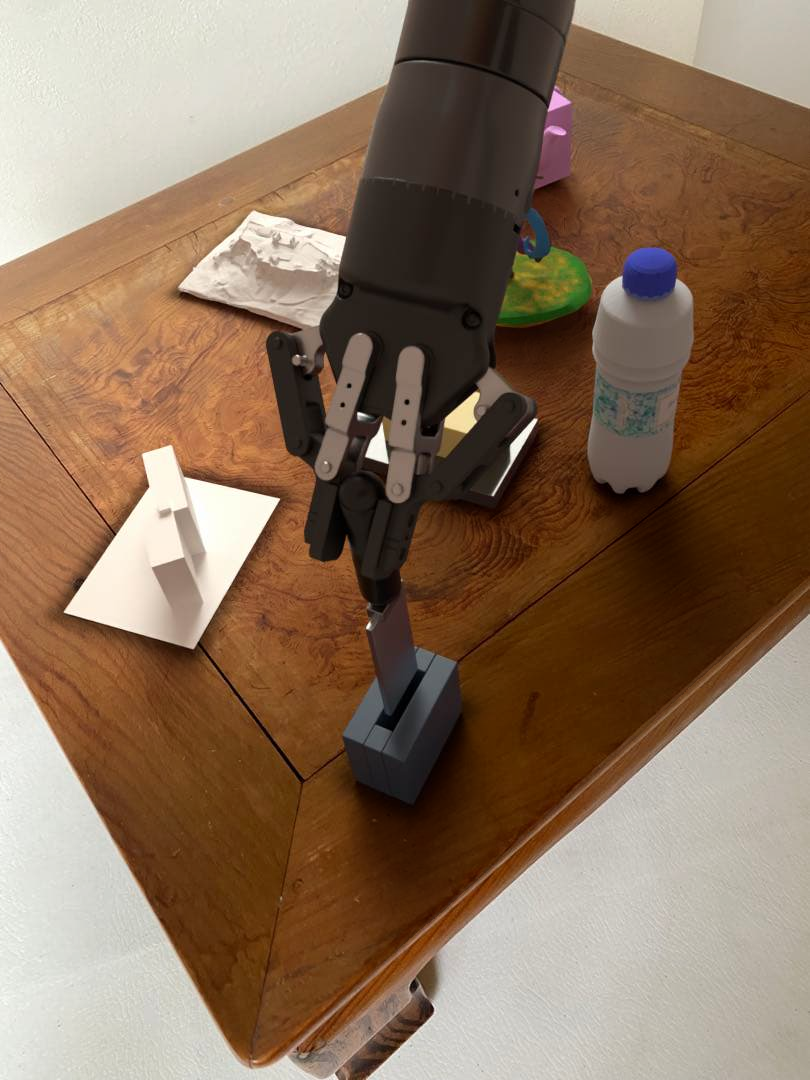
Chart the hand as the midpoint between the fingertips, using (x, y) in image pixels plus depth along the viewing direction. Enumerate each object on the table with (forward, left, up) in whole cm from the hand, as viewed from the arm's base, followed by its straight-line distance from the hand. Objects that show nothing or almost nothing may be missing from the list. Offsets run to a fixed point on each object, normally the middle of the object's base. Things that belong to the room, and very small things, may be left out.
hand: (350, 566), depth 47 cm
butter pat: (+13, -27, -20) cm, 36 cm away
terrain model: (+32, -43, -22) cm, 58 cm away
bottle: (-5, -30, -22) cm, 37 cm away
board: (+10, -27, -22) cm, 36 cm away
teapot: (+20, -65, -22) cm, 71 cm away
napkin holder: (+24, -9, -22) cm, 34 cm away
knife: (0, -2, -15) cm, 15 cm away
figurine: (+11, -46, -22) cm, 52 cm away
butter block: (+8, -27, -20) cm, 34 cm away
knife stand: (0, -2, -22) cm, 22 cm away
